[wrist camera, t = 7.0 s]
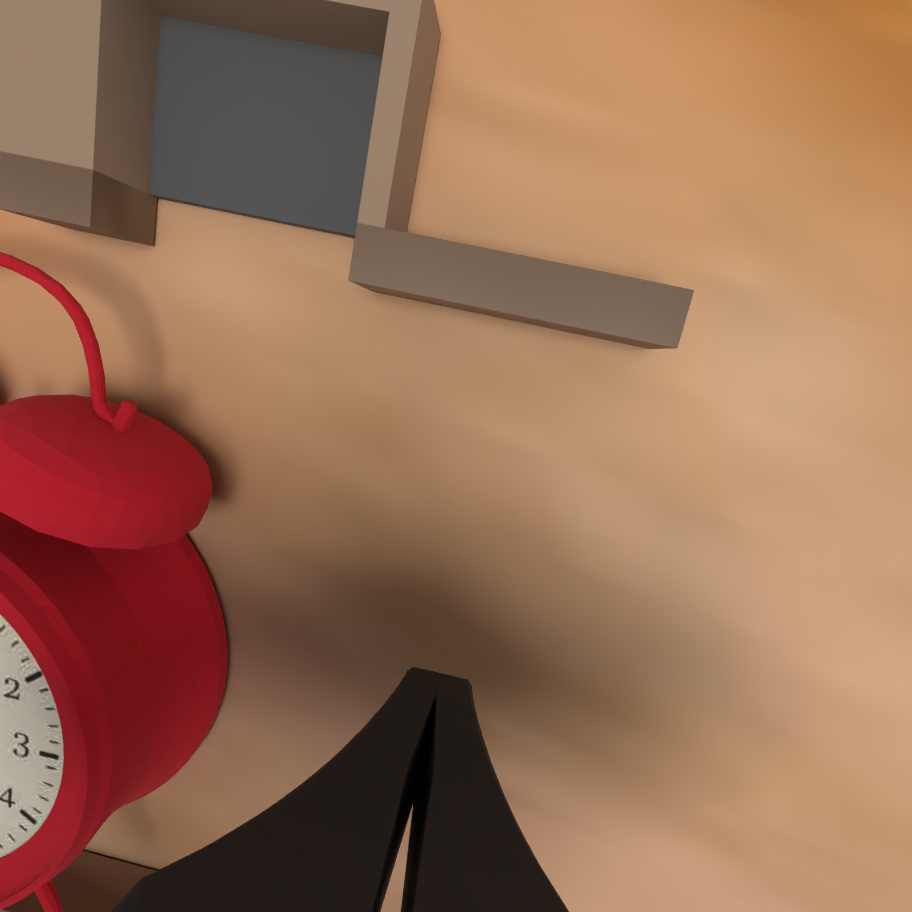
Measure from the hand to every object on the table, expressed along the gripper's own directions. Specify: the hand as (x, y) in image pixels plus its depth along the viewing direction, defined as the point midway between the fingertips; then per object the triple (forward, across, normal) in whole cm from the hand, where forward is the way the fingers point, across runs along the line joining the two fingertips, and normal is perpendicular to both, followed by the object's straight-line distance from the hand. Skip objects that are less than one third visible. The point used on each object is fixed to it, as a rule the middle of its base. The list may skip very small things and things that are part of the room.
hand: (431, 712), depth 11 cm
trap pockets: (+2, +9, -12) cm, 15 cm away
